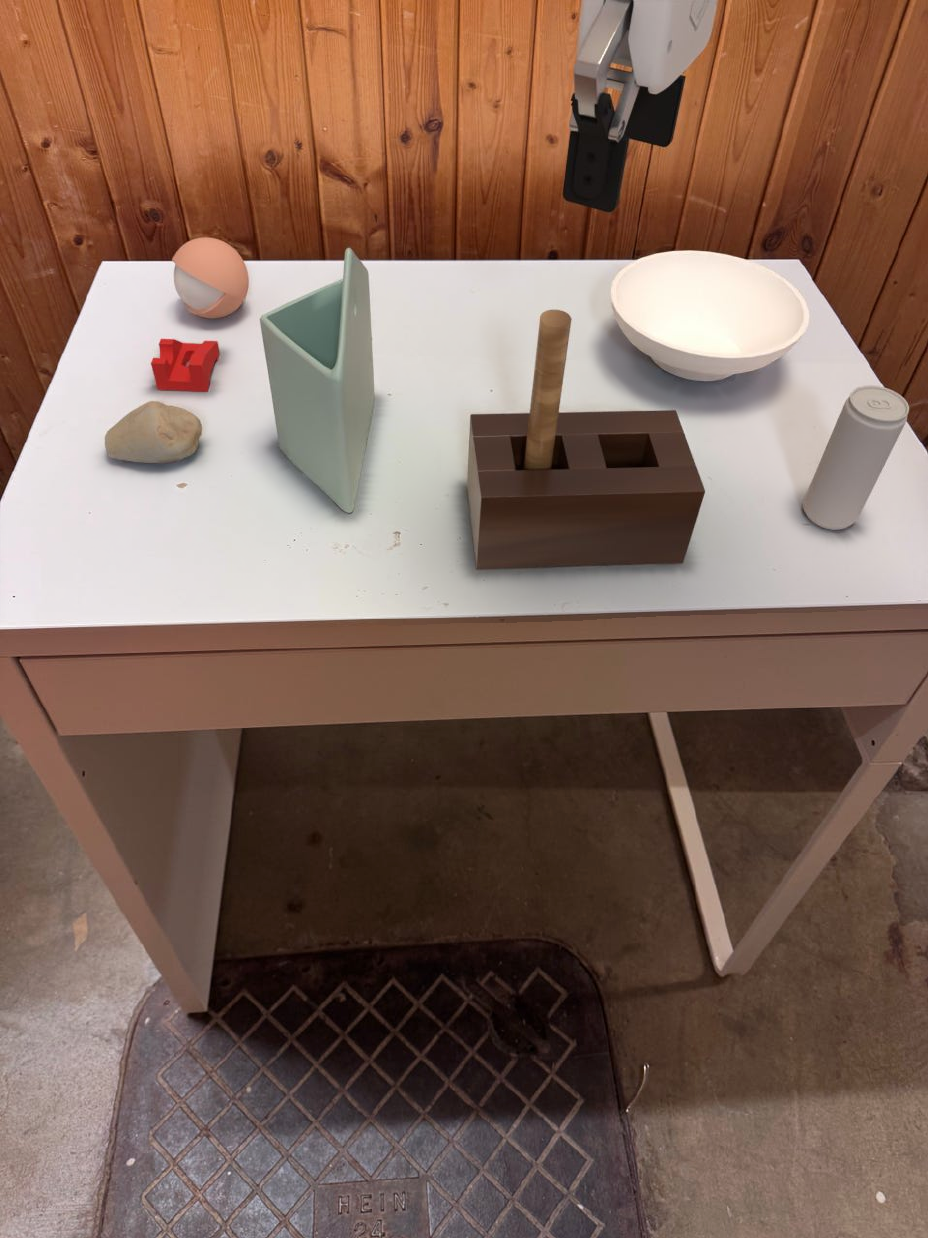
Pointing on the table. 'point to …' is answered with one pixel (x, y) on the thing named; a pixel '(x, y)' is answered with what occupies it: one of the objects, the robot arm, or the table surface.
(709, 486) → the table surface
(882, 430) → the beverage can
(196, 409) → the table surface
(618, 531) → the holder
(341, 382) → the planter
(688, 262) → the bowl
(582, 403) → the table surface
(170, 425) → the stone
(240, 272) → the toy ball
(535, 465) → the stirring stick
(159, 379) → the bracket
